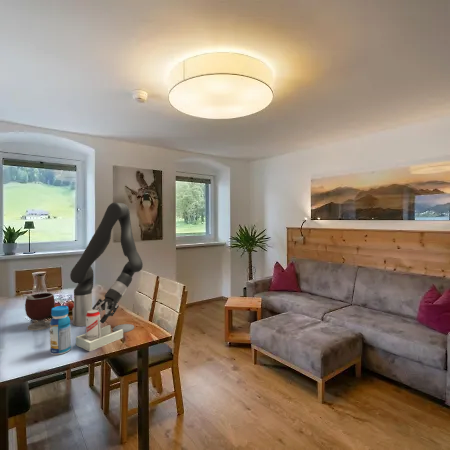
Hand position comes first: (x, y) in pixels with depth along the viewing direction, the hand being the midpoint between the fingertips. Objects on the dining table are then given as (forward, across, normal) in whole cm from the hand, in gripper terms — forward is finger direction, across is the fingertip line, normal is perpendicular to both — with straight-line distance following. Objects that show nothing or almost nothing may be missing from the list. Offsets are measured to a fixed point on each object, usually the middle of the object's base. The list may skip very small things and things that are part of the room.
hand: (96, 320), depth 141 cm
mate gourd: (+12, -45, +4) cm, 47 cm away
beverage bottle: (+18, -6, -2) cm, 19 cm away
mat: (-5, -4, +21) cm, 22 cm away
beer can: (+9, 0, +7) cm, 11 cm away
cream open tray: (+6, 0, +9) cm, 11 cm away
